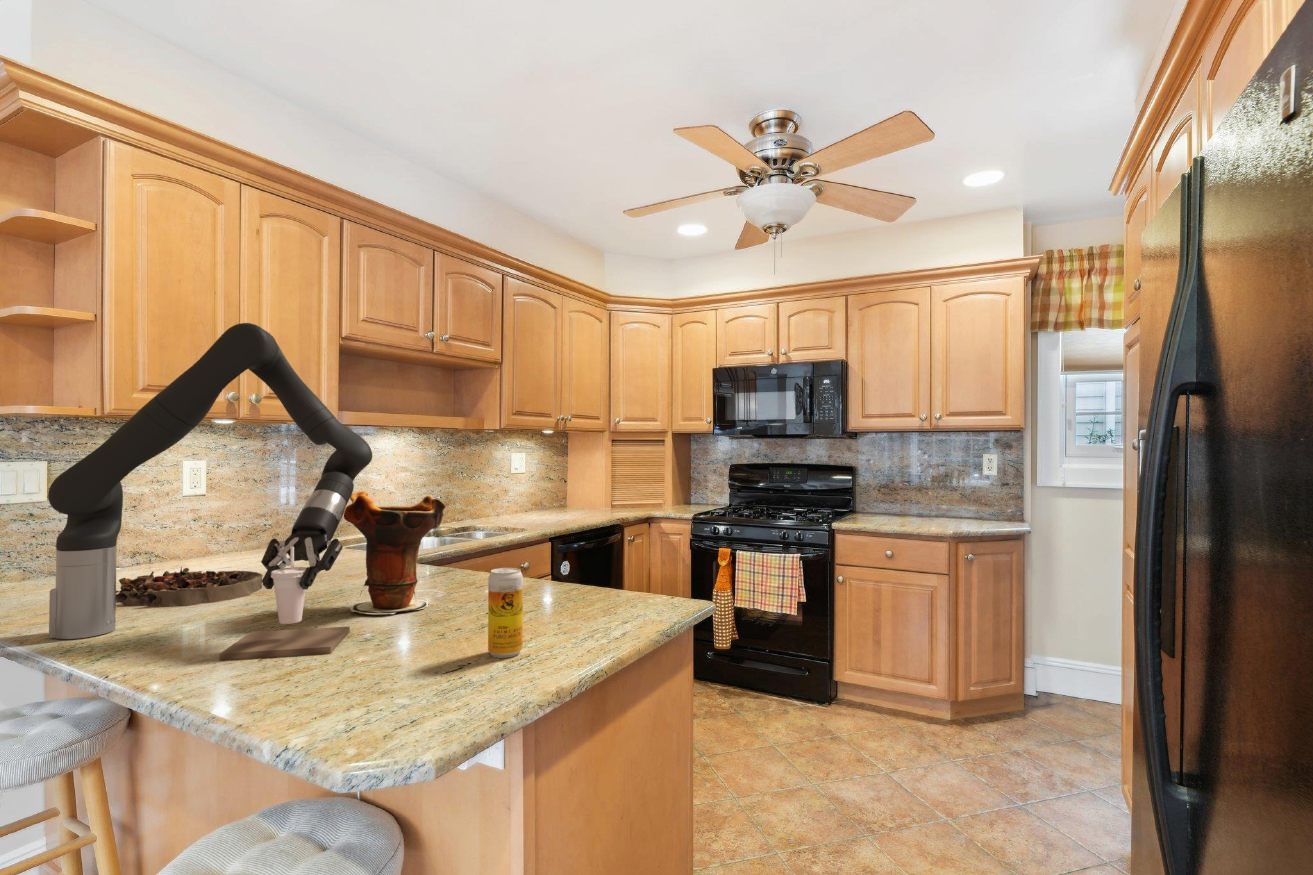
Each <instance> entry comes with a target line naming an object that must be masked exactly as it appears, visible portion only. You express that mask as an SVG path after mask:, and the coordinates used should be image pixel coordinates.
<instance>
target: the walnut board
mask: <svg viewBox="0 0 1313 875" xmlns="http://www.w3.org/2000/svg"><path fill="white" fill-rule="evenodd" d="M350 628H351V627H350V626H334V627H333V626H332V627H317V628H302V629H300V628H299V629H282V630H280V629H279V630H263V631H262V630H261V631H250V632H248V633H247V634H245V636H243V637H242V638H240V639H239V640H237V641H236V642H234V643H233V644H231V645H230V646H228V647H226V648H225V649H224V650H223V651H221V652H220V653H219V654H218V655H219V661H232V660H233V661H234V660H247V659H248V660H249V659H264V658H265V659H266V658H277V657H280V658H281V657H293V656H296V657H297V656H309V655H310V656H311V655H325V654H326V655H327V654H332V653H333V651H335V649H336V648H337V647H338V646H339V645H340V644H341V643H342V642H343V640H344V639H345V638H346V637H347V636H348V635H349V634H350V633H351V629H350Z"/></svg>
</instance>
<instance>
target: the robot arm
mask: <svg viewBox="0 0 1313 875" xmlns="http://www.w3.org/2000/svg"><path fill="white" fill-rule="evenodd" d="M247 370H249V371H250V372H252V373H253V374H254V375H255V376H256V377H257V378H258V379H260V380H261V381H262V382H263V383H264V384H265V385H266V386H267V387H269V389H270V390H271V391H272V392H273V393H274V395H275V396H276V397H277V399H278V400H279V402H280V403H281V404H282V406H283V408H284V409H285V412H286V413H287V414H288V415H289V417H290V419H292V421H293V422H294V423H295V424H296V425H297V426H298V427H299V429H300V430H301V431H302V432H303V434H305V435H306V437H307V438H308V439H309V440H310V441H311V442H312V443H313V444H315V445H316V446H324V445H326V444H328V445H329V446H331V447H333V448H334V449H335V450H334V451H333V452H332V453H331V454H330V456H329V457H328V459H327V460H326V462H325V465H324V466H323V467H324V468H323V469H322V472H321V476H320V479H319V480H318V482H317V484H316V486H315V488H314V489H313V492H312V493H311V495H310V496H309V497H308V499H307V500H306V502H305V503H304V505H303V507H302V509H301V511H300V513H299V515H298V516H297V518H296V520H295V521H294V524H293V526H292V528H291V533H290V535H289V536H288V537H287V538H286V539H285V540H278V539H277V538H274V537H273V538H272V539H271V540H270V541H269V543H268V545H267V548H266V550H265V552H264V554H263V556H262V559H261V564H262V566H264V568H265V569H266V572H265V574H264V575H263V577H262V586H263V587H264V588H265V589H266V590H272V589H273V588H274V582H273V578H271V572H272V571H274V570H278V569H283V568H287V567H291V547H294V563H295V562H299V561H305V562H308V565H309V567H308V566H307V567H306V570H305V572H304V574H303V576H302V578H301V580H300V583H299V585H300V586H301V588H302V589H306V590H308V589H309V588H310V587H311V586H313V584H314V582H315V579H316V578H317V575H318V574H319V573H320V572H322V571H327V572H328V571H330V570H331V569H332V567H333V566H334V564H335V562H336V561H337V558H338V556H340V553H341V551H342V550H343V545H342V543H341V542H340V540H339V539H338V538H333V537H334V535H335V533H336V531H337V529H338V527H339V525H340V523H341V521H342V519H343V517H344V512H345V509H346V507H347V506H348V503H349V501H350V500H351V499H350V497H351V495H352V494H353V493H354V492H353V491H354V488H355V485H354V480H355V479H356V478H357V476H358V475H359V474H360V473H361V472H362V471H363V470H364V469H365V468H366V467H367V466H368V465H369V464H370V463H371V462H372V459H373V451H372V448H371V446H370V445H369V443H368V442H367V441H366V440H365V439H364V438H363V437H362V436H360V435H359V434H357V433H356V432H355V431H354V430H352V429H350V428H349V427H348V426H346V425H344V424H343V423H341V422H340V421H339V420H338V418H337V417H336V416H335V415H334V414H333V413H332V412H331V411H330V410H329V408H328V407H327V406H326V405H325V404H324V402H323V401H322V400H321V399H320V398H319V397H318V396H317V395H316V394H315V393H314V391H312V390H311V388H309V386H308V385H307V384H306V383H305V382H304V381H303V380H302V378H301V377H300V376H299V375H298V373H296V371H295V369H294V368H293V367H292V366H291V364H290V363H289V361H288V359H287V358H286V356H285V355H284V353H283V351H282V349H281V348H280V346H279V344H278V342H277V340H276V338H275V337H274V336H273V335H272V334H271V333H270V332H268V331H267V330H265V329H264V328H263V327H261V326H258V325H257V324H255V323H250V322H242V323H236V324H234V325H232V326H230V327H229V328H228V329H226V330H225V331H224V332H223V333H222V334H221V335H220V336H219V337H218V338H217V339H216V341H215V342H213V344H212V345H211V346H210V347H209V348H208V349H207V350H206V351H205V352H204V354H203V355H201V357H200V358H199V359H198V360H197V361H195V363H193V365H191V366H190V367H189V368H188V369H186V370H185V371H184V372H183V373H181V374H180V375H179V376H178V377H177V378H175V379H174V380H173V381H172V382H171V383H170V384H168V385H167V386H165V388H163V389H162V390H161V391H160V392H159V393H157V394H156V395H155V396H154V397H152V398H151V399H150V400H149V401H148V402H146V403H145V405H143V406H142V407H141V408H140V409H139V410H138V411H137V412H136V413H135V414H133V416H132V417H130V418H129V419H128V420H127V421H126V422H125V423H124V424H122V425H121V426H120V427H119V428H118V429H117V430H115V432H114V433H113V434H112V435H111V436H110V437H108V438H107V439H106V440H105V441H104V442H103V443H102V444H101V445H99V447H97V448H95V450H93V451H92V452H89V454H87V455H86V456H85V457H84V458H83V457H82V459H80V460H78V461H77V462H76V463H75V464H73V465H71V467H69V468H67V469H66V470H65V471H63V472H61V473H60V474H59V475H57V477H55V479H54V480H53V481H52V482H51V484H50V487H49V489H48V491H47V492H48V494H47V498H48V503H49V504H50V506H51V508H52V509H53V510H54V511H56V512H58V513H60V514H62V515H67V518H66V524H65V525H64V528H63V529H62V530H61V532H60V533H59V534H58V535H57V537H56V542H55V543H56V545H55V546H56V547H55V587H53V588H51V589H50V591H49V608H48V610H49V611H48V614H49V616H48V638H49V639H58V640H74V639H84V638H90V637H96V636H99V635H104V634H107V633H111V632H113V631H115V630H116V620H117V618H116V610H117V609H116V608H117V603H116V594H117V593H116V590H117V552H118V551H117V544H118V543H117V542H118V541H117V540H118V536H119V534H120V532H121V529H122V521H123V520H122V519H123V508H124V507H123V505H124V504H123V503H124V490H123V486H122V482H121V481H122V480H123V479H125V478H126V477H127V476H128V475H129V474H130V473H131V472H132V471H135V469H137V468H138V467H139V466H141V465H142V464H145V463H146V462H148V461H150V460H151V459H153V458H155V457H157V456H159V455H160V454H162V453H163V452H165V451H167V450H169V449H170V448H171V447H173V446H174V445H176V444H177V443H179V442H180V441H181V440H182V439H184V437H186V436H187V435H188V434H190V432H192V431H193V429H195V428H196V427H197V426H198V425H199V424H200V423H201V422H202V421H203V420H204V418H205V417H206V416H207V415H208V413H209V412H210V411H211V409H212V407H213V406H214V404H215V403H216V400H217V399H218V398H219V396H220V394H221V393H222V392H223V390H224V389H225V388H226V387H227V386H228V385H229V384H230V383H232V382H233V381H234V380H235V379H236V378H237V377H239V376H241V374H243V373H244V372H246V371H247ZM323 552H324V553H323ZM322 553H323V556H322V557H321V555H320V554H322ZM287 555H288V556H289V557H287Z"/></svg>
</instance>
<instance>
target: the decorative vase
mask: <svg viewBox="0 0 1313 875" xmlns="http://www.w3.org/2000/svg"><path fill="white" fill-rule="evenodd" d="M349 500H350V501H351V503H350V504H347V505H346V507H345V511H344V514H343V519H344V520H345V521H347V522H348V523H350V524H352V525H353V526H354V528H356V529H357V530H358V531H359V532H360V533H361V534H362V535H363V536H364V538H365V539H366V546H365V549H366V551H365V568H366V580H365V581H364V585H363V587H368V589H367V592H368V595H369V598H370V600H365V601H361V602H356V603H355V604H353V605H351V606H350V608H349V611H350V612H353V613H354V612H356V613H358V614H366V615H395V614H396V613H398V612H410V611H417V610H421V609H422V610H423V609H426V608H427V607H429V605H428V604H429V602H428V601H427V600H422V599H420V598H419V599H417V598H416V597H414V596H416V591H415V590H416V587H417V584H418V578H417V564H418V563H417V562H418V558H419V557H418V556H419V551H420V547H421V544H422V539H423V538H424V537H425V536H427V534H428V533H430V532H431V531H432V530H434V529H436V528H438V527H440V525H441V523H442V520H443V518H444V510H445V509H446V505H445V503H444V502H443V501H441V500H440V499H438V498H434V497H433V496H432V495H426V496H424V497H423V499H422V500H421V501H419V502H418V503H416V504H414V505H375V503H374V502H373V500H372V499H371V498H370V497H369V496H368V492H366V491H364V490H360V491H356V492H352V495H351V497H350V499H349ZM362 593H363V590H361V592H360V593H359V598H361V596H362ZM413 597H414V598H413Z"/></svg>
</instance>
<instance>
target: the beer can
mask: <svg viewBox="0 0 1313 875" xmlns="http://www.w3.org/2000/svg"><path fill="white" fill-rule="evenodd" d="M523 578H524V577H523V573H522V572H521V568H518V567H500V568H493V569H491V570H490V573H489V575H488V577H487V579H488V580H487V582H488V585H487V586H488V590H487V591H488V593H487V595H488V596H487V597H488V598H487V599H488V600H487V601H488V602H487V606H488V607H487V608H488V609H487V610H488V612H487V621H488V623H487V627H488V628H487V633H488V634H487V648H488V649H487V652H489V654H490V655H491V657H494V658H499V659H504V658H505V659H506V658H507V659H508V658H512V657H516V656H518V655H519V654H520V653H521V651H522V650H523V648H524V647H523V646H524V645H523V641H524V640H523V638H524V637H523V636H524V635H523V633H524V632H523V630H524V629H523V627H524V626H523V621H524V620H523V619H524V618H523V616H524V615H523V613H524V611H523V610H524V609H523V608H524V606H523V604H524V600H523V599H524V596H523V595H524V592H523V591H524V590H523V588H524V585H523V581H524V580H523Z"/></svg>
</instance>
